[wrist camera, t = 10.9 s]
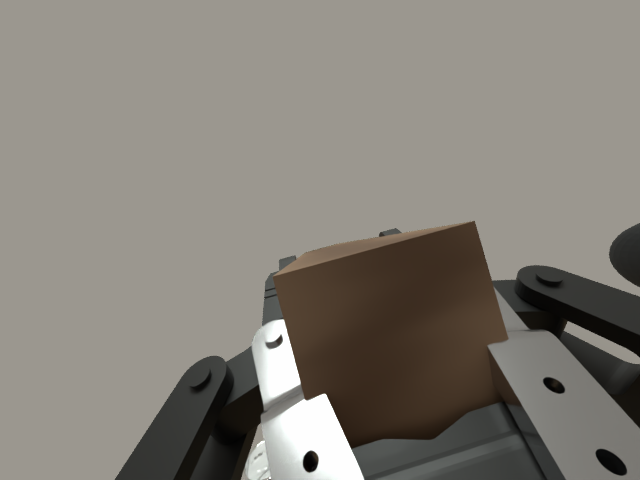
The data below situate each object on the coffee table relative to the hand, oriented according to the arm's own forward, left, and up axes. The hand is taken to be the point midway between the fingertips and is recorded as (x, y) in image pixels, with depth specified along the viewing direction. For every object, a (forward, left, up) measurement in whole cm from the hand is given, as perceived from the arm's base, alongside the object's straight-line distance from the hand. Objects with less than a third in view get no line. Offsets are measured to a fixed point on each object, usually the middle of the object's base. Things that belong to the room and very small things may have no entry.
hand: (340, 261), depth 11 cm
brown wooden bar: (0, -5, -3) cm, 6 cm away
